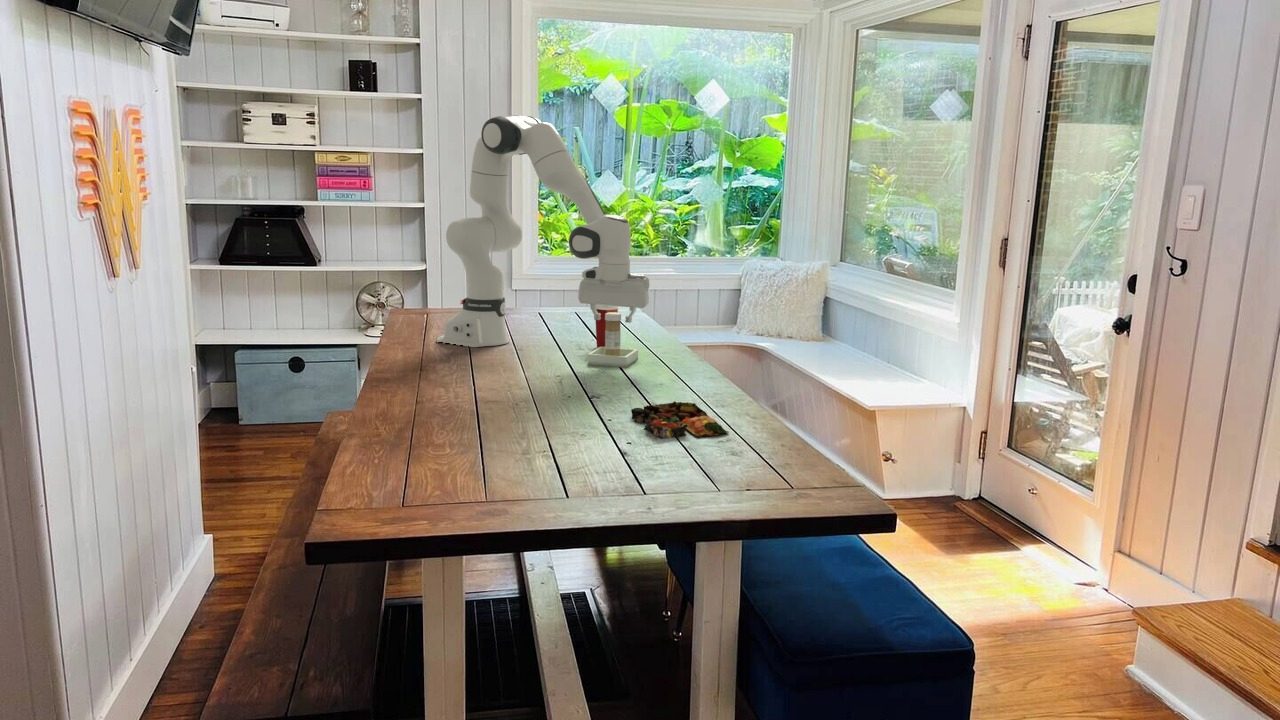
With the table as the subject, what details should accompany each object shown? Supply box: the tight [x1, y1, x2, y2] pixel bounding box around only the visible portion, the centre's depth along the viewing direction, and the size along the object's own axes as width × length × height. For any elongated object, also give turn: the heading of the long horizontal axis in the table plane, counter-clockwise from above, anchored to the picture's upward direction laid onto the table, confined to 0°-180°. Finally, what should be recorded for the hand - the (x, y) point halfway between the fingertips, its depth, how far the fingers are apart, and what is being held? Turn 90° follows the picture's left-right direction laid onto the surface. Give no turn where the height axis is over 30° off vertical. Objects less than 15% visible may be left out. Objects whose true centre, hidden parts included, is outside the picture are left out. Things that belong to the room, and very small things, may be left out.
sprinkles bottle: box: [605, 312, 622, 356], centre depth 265 cm, size 5×5×13 cm
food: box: [630, 400, 730, 440], centre depth 205 cm, size 22×19×4 cm
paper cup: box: [595, 305, 620, 349], centre depth 284 cm, size 8×8×14 cm
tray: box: [587, 347, 639, 368], centre depth 266 cm, size 12×12×3 cm
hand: (612, 321), depth 264 cm, fingers open, 8 cm apart
